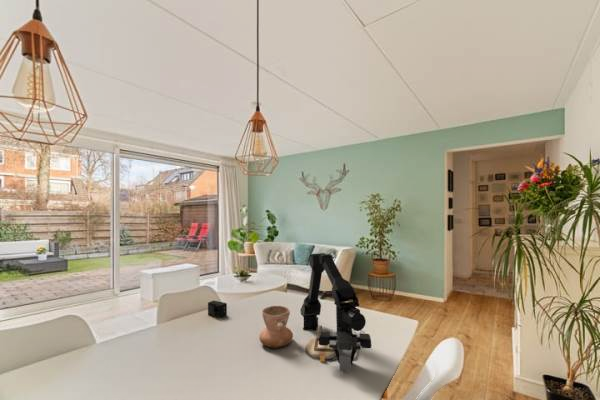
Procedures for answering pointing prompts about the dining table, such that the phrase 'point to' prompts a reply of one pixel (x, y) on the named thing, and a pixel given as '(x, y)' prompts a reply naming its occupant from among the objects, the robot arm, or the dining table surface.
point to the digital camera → (217, 309)
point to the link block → (345, 360)
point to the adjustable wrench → (358, 336)
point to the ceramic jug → (276, 327)
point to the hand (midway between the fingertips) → (345, 363)
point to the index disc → (319, 347)
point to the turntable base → (322, 358)
